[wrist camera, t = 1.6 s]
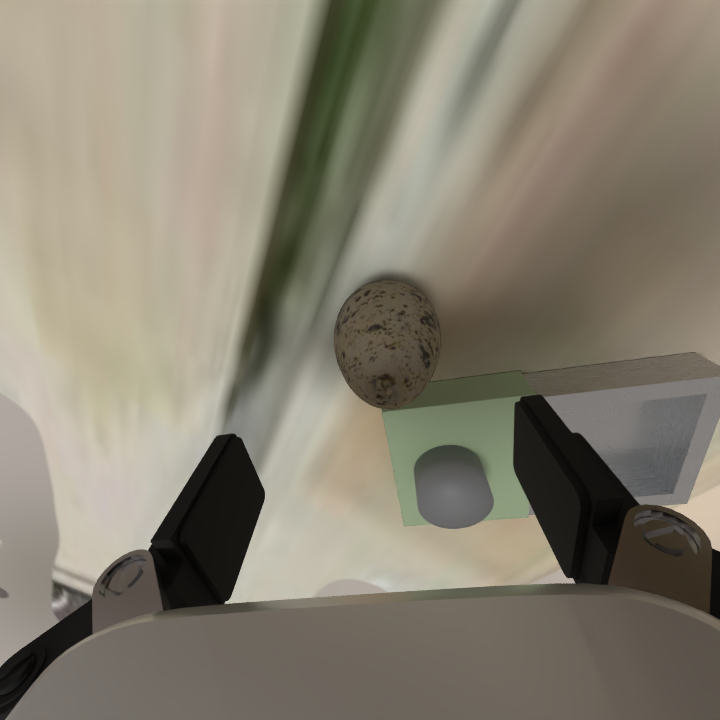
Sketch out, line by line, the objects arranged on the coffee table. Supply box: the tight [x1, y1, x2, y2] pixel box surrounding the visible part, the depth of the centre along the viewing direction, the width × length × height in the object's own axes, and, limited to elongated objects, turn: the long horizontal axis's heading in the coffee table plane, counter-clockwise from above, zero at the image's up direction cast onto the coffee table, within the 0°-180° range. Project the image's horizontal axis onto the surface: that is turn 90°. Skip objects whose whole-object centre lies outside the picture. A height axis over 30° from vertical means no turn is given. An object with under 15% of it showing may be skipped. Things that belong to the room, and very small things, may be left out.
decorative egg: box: [334, 280, 441, 409], centre depth 18 cm, size 6×6×10 cm
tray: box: [522, 352, 720, 515], centre depth 25 cm, size 11×11×3 cm
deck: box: [382, 371, 536, 529], centre depth 25 cm, size 10×12×6 cm
